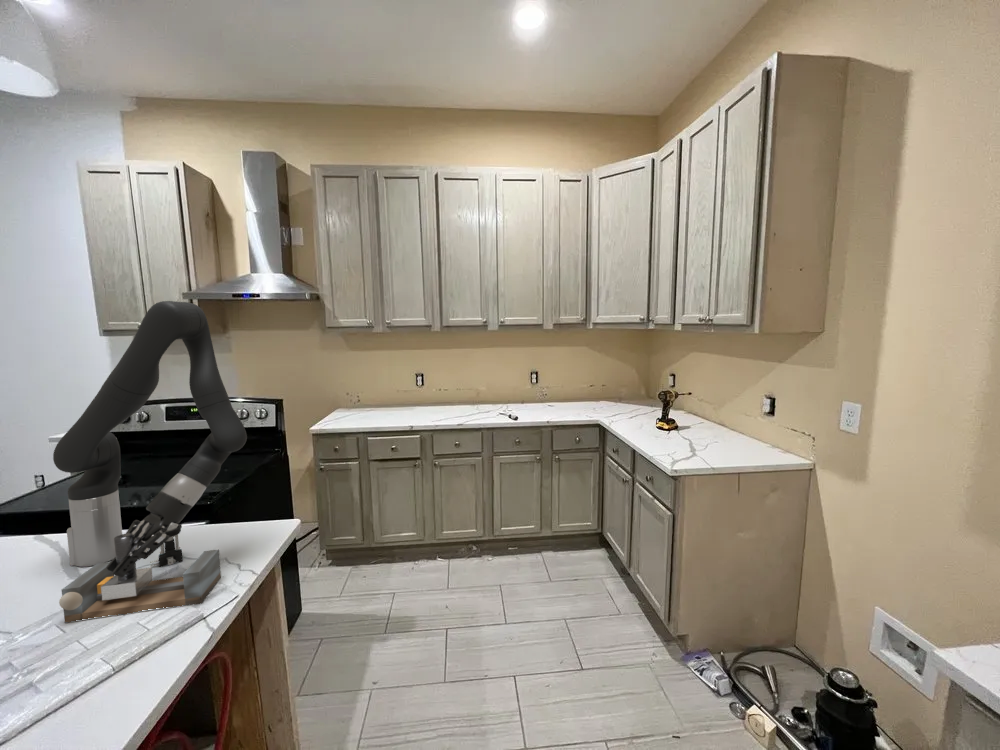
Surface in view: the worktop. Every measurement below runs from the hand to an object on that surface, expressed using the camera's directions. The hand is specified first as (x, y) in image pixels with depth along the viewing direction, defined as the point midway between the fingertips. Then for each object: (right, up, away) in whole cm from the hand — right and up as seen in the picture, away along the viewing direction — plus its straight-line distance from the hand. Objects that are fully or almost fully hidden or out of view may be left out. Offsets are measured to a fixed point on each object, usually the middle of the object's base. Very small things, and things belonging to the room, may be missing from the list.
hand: (114, 572), depth 87 cm
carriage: (+1, -5, +2) cm, 5 cm away
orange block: (-3, -4, +1) cm, 5 cm away
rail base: (+5, -7, +3) cm, 9 cm away
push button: (-3, -6, +18) cm, 19 cm away
